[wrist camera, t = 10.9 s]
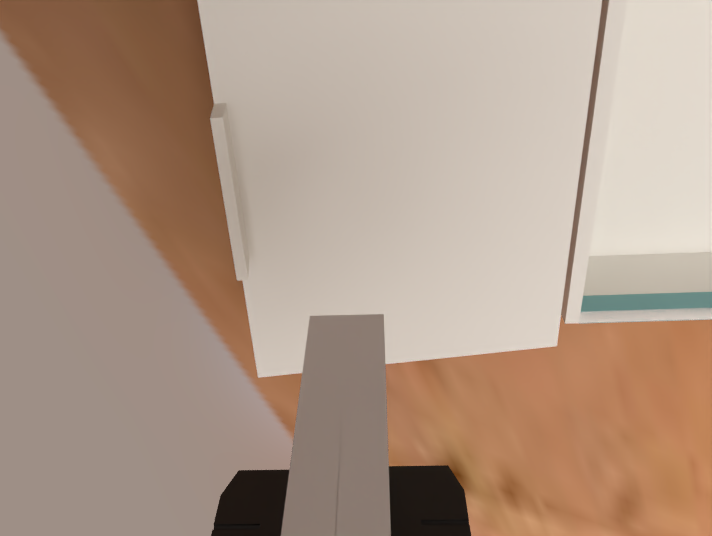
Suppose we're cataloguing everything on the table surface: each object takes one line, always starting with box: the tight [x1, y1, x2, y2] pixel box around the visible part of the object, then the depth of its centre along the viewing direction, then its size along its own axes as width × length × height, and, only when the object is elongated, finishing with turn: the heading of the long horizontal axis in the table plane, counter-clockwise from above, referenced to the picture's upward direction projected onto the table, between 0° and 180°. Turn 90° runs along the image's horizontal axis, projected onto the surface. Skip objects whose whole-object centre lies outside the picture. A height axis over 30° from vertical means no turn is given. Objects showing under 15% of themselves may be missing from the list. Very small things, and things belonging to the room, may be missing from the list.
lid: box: [197, 0, 602, 377], centre depth 24 cm, size 18×13×2 cm
